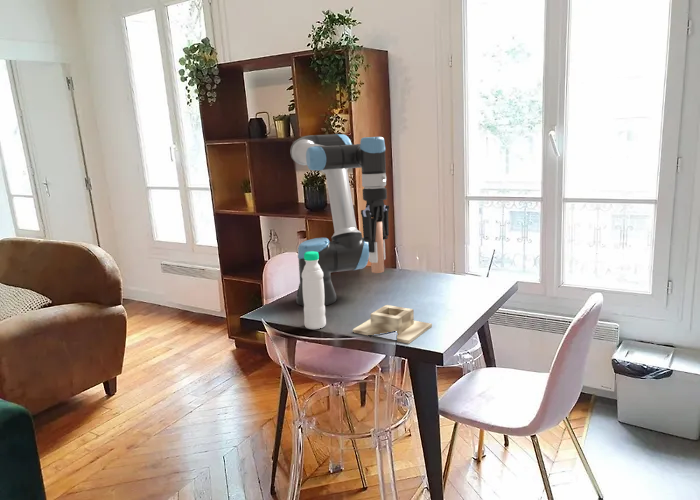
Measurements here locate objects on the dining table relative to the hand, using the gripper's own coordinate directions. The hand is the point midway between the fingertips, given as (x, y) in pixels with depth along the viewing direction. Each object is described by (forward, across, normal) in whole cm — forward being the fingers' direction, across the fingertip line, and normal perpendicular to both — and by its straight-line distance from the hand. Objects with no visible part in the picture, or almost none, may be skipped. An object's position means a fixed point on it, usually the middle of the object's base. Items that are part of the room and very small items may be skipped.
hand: (377, 260), depth 175 cm
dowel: (+4, 0, 0) cm, 4 cm away
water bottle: (+22, -11, +18) cm, 30 cm away
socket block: (+22, -2, -6) cm, 22 cm away
